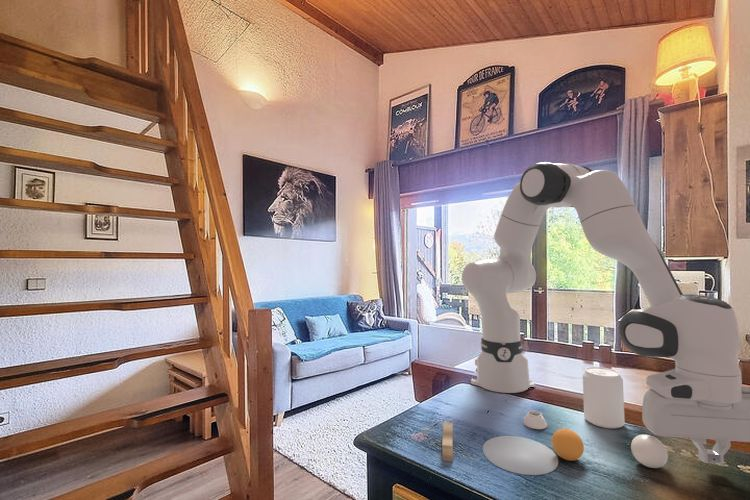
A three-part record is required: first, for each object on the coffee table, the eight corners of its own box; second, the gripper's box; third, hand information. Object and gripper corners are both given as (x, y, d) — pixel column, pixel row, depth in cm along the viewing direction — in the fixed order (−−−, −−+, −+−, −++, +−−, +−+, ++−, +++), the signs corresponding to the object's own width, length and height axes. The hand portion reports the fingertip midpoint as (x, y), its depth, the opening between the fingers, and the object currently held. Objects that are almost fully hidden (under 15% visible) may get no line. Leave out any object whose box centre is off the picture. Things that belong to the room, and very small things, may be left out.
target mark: (480, 434, 80) (480, 433, 80) (547, 439, 77) (547, 438, 77) (486, 470, 67) (486, 469, 67) (568, 479, 64) (568, 477, 64)
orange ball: (549, 449, 73) (548, 422, 74) (578, 452, 72) (577, 424, 72) (556, 465, 68) (555, 435, 68) (588, 468, 67) (587, 438, 67)
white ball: (626, 456, 70) (625, 428, 71) (658, 459, 69) (656, 430, 69) (640, 472, 65) (639, 442, 65) (675, 476, 64) (674, 444, 64)
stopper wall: (443, 435, 80) (443, 422, 80) (452, 436, 80) (452, 422, 80) (442, 460, 70) (442, 445, 70) (453, 461, 70) (452, 446, 70)
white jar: (524, 419, 88) (522, 428, 83) (524, 407, 88) (522, 415, 83) (547, 423, 85) (546, 432, 81) (546, 411, 86) (546, 419, 81)
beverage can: (631, 431, 80) (629, 377, 80) (591, 429, 82) (589, 376, 82) (615, 416, 88) (613, 366, 88) (579, 413, 90) (577, 365, 90)
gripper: (761, 381, 66) (764, 457, 66) (636, 376, 71) (639, 447, 70) (793, 394, 60) (797, 478, 60) (654, 388, 65) (657, 466, 64)
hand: (710, 461), depth 65 cm, fingers closed
